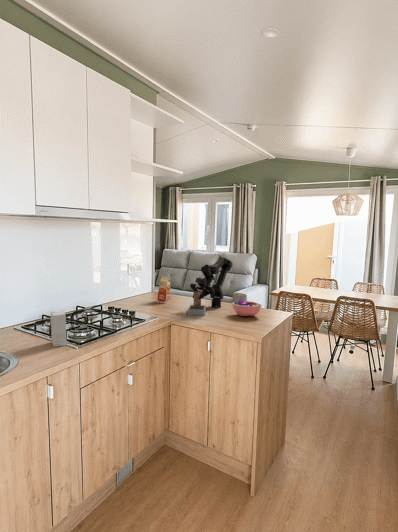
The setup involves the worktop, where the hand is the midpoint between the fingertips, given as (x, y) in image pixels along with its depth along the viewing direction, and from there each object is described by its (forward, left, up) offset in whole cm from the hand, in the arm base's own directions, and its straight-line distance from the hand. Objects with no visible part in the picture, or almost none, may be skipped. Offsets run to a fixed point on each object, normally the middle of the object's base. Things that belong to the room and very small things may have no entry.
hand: (196, 298), depth 228 cm
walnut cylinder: (-1, -1, -7) cm, 7 cm away
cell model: (-34, +1, -10) cm, 35 cm away
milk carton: (+26, -31, -10) cm, 42 cm away
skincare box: (+59, +73, -10) cm, 95 cm away
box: (-1, -1, -10) cm, 10 cm away
